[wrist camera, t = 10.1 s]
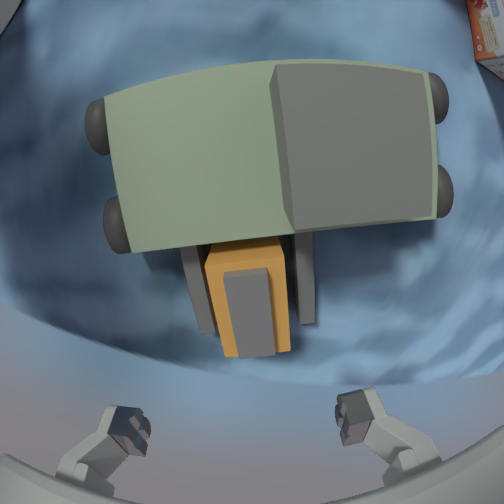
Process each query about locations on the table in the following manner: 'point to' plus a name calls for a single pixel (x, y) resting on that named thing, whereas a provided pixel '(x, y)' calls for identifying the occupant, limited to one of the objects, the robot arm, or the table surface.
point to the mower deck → (269, 159)
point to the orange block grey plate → (249, 296)
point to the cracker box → (488, 33)
